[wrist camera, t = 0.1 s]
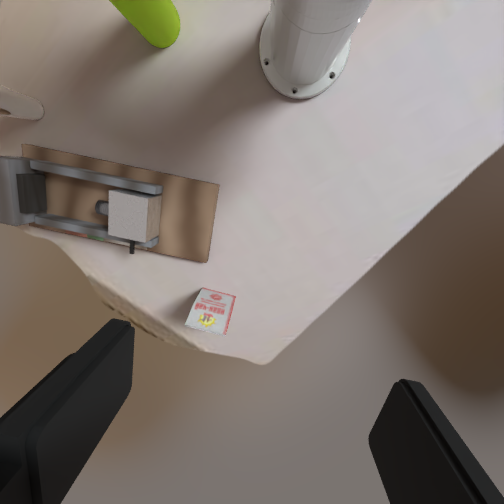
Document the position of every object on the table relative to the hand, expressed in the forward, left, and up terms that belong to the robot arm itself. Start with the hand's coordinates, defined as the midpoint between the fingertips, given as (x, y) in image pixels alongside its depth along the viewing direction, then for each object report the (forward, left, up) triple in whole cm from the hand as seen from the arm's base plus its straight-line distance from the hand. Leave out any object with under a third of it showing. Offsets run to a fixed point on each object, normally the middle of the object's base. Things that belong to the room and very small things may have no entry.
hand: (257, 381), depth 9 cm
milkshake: (-9, -41, -37) cm, 56 cm away
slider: (+6, -22, -35) cm, 42 cm away
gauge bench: (+4, -25, -37) cm, 45 cm away
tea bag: (+19, -6, -37) cm, 42 cm away
